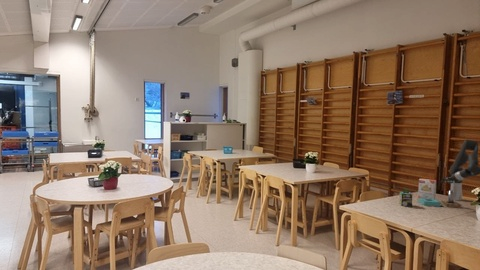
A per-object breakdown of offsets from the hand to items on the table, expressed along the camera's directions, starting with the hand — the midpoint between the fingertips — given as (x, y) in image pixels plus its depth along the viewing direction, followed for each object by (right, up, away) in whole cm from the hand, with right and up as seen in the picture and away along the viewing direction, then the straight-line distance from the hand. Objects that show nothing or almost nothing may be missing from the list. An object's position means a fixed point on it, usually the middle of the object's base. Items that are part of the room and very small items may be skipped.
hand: (444, 182), depth 298 cm
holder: (+4, -21, -2) cm, 22 cm away
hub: (-13, -20, +2) cm, 24 cm away
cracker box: (-6, -20, +18) cm, 28 cm away
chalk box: (-38, -20, -4) cm, 44 cm away
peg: (+4, -21, -2) cm, 22 cm away
